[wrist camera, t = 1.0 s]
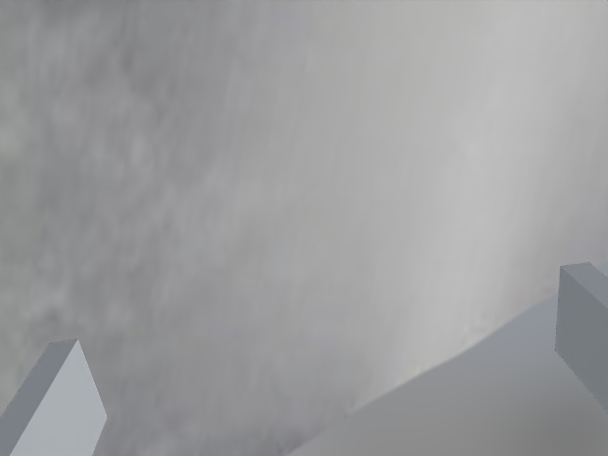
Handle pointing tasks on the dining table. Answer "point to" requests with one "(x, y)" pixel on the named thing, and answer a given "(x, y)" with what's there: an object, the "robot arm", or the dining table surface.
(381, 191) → the dining table surface
